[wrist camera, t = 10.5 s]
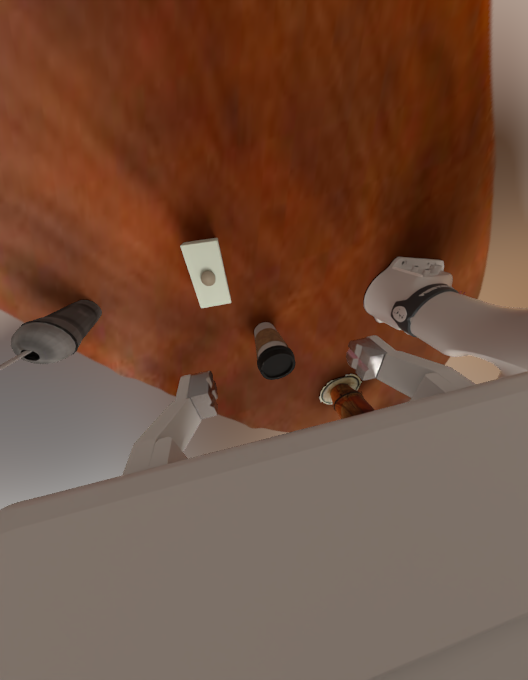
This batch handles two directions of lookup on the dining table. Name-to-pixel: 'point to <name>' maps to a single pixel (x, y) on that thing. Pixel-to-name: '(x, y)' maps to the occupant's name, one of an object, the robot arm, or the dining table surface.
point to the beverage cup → (54, 334)
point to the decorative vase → (345, 396)
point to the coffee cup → (272, 352)
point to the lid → (207, 271)
